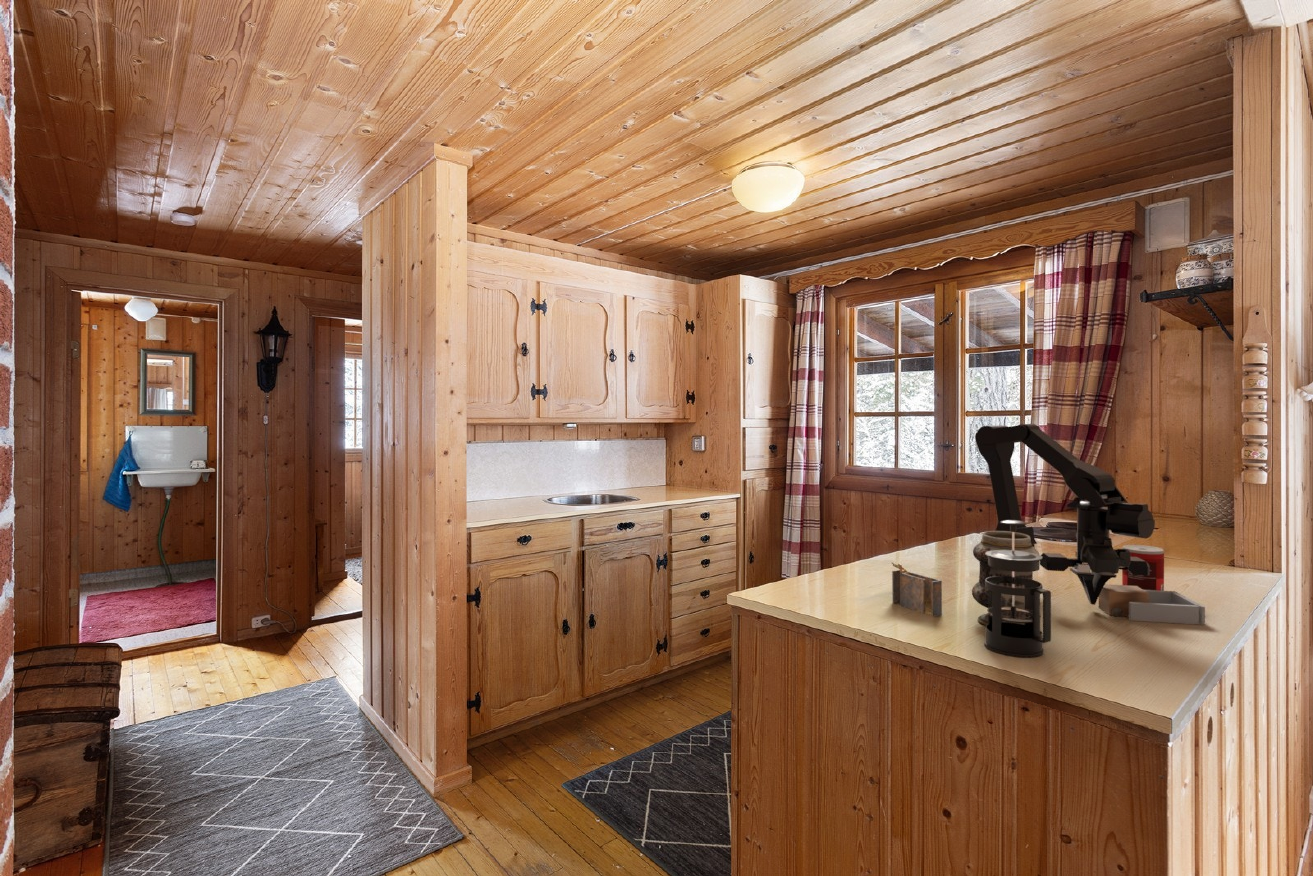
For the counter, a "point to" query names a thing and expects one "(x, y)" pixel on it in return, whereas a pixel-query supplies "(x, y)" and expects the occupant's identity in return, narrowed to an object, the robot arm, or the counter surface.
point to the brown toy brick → (1120, 598)
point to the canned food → (1156, 563)
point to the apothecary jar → (998, 542)
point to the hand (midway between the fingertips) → (1092, 604)
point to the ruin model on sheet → (917, 591)
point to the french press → (1013, 635)
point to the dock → (1167, 609)
